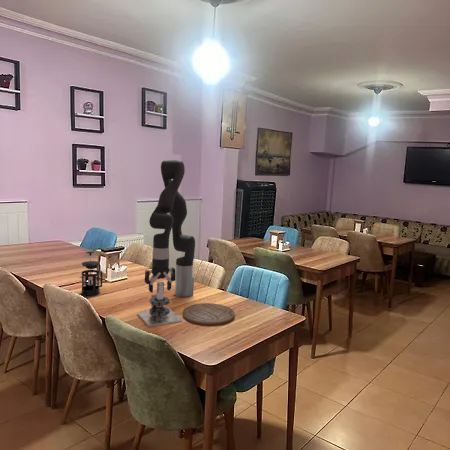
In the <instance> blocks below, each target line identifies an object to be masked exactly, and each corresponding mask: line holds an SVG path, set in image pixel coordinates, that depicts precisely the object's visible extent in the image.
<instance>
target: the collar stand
mask: <svg viewBox="0 0 450 450" xmlns="http://www.w3.org/2000/svg"><path fill="white" fill-rule="evenodd" d="M156 298H157V294H152V295H151V297H150V299H149V304H150V305H151V308H150V309H149V310H145V311H138V312H136V313H137V316H138V317H139V319H140V320H141V321H143V323H145V325H146V326H147V327H148V328H151V327H157V326H161V325H162V326H163V325H169V324H175V323H180V322H183V318H181V317H180V316H179V315H178V314H176V312H174V311H173V310H172V309H171V308H170V307H167V306H168V305H169V304H170V301H171V299H170V298H169V297H167V296H164V298H163V301H156ZM159 305H160V306H163V311H161V312H157V311H156V306H159ZM156 316H158V317H156ZM159 316H160V317H159ZM161 316H162V317H161Z"/></svg>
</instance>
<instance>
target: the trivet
mask: <svg viewBox="0 0 450 450" xmlns="http://www.w3.org/2000/svg"><path fill="white" fill-rule="evenodd" d="M235 315H236V314H235V311H234V309H232V308H231V307H230V306H229V307H228V306H227V305H223V304H220V303H212V302H203V303H202V302H201V303H195V304H191V305H188V306H186V307H184V309H183V311H182V317H183V319H184V320H186V321H187V322H189V323H191V324H195V325H200V326H207V327H211V326H222V325H225V324H226V325H227V324H229V323H231V322H233V320H234V319H235Z"/></svg>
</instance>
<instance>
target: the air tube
mask: <svg viewBox="0 0 450 450" xmlns="http://www.w3.org/2000/svg"><path fill="white" fill-rule="evenodd" d="M164 291H165V282H163V281H157V282H156V295H157V298H156V301H163V298H164V297H165V296H164V294H165V292H164ZM163 307H164V306H160V305H159V306H156V311H157V312H161V311H163ZM156 317H158V316H156ZM159 317H160V316H159ZM161 317H162V316H161Z"/></svg>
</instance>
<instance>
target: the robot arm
mask: <svg viewBox="0 0 450 450" xmlns="http://www.w3.org/2000/svg"><path fill="white" fill-rule="evenodd" d="M185 169H186V167H185V164H184V161H183V160H181V159H171V160H170V159H168V160H167V159H166V160H162V161H161V164H160V172H161V174H160V175H161V177H162V181H163V184H164V185H163V186H164V189H163V190H162V191H161V193H160V194H159V199H158V201H157V206H156V207H155V209H154V210H153V212H151V213H152V214H151V215H150V217H149V220H148V221H149V222H148V223H149V226H150V227H151V229H155V230H156V229H157V230H164V231H163V232H161V233H155V234H154V235H153V238H152V239H153V241H152V259H151V260H152V261H151V262H152V263H151V265H152V266H151V267H152V268H151V269H149V270H148V269H146V270H145V271H144V273H145V274H144V283H146V285H148V291H149V292H150V293H151V294H152V293H154V283H155V282H156V280H160V279H165V280H167V281H166V282H167V283H166V290H167V291H171V289H172V283H173V282H175V284H174V285H175V286H174V288H175V289H174V295H175V296H176V297H179V298H187V297H191V296H193V295H194V289H195V288H194V287H195V286H194V285H195V278H194V277H193V274H194V273H193V272H194V271H193V269H194V260H195V250H196V239H195V237H194V236H193V235H187V234H183V232H182V225H183V223H184V222H185V219H186V217H187V215H188V209H187V207H188V206H187V202H186V199H185V198H184V196H183V195H182V194H181V193H180V192H179V189H180V187H181V186H180V185H181V184H182V181H183V179H184V176H185ZM171 231H172V245H173V248H174V250H175V251H176V252H182V253H184V256H180V257H178V258H176V260H175V268H174V267H171V268H170V235H171ZM169 273H170V276H169V275H168V274H169ZM151 274H152V275H151Z"/></svg>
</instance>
